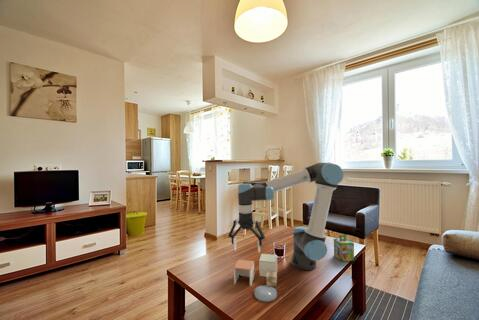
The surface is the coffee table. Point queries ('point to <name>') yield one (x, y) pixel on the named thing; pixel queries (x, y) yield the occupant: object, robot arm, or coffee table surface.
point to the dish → (265, 293)
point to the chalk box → (343, 249)
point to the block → (271, 279)
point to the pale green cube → (267, 264)
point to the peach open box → (244, 270)
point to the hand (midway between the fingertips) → (246, 250)
